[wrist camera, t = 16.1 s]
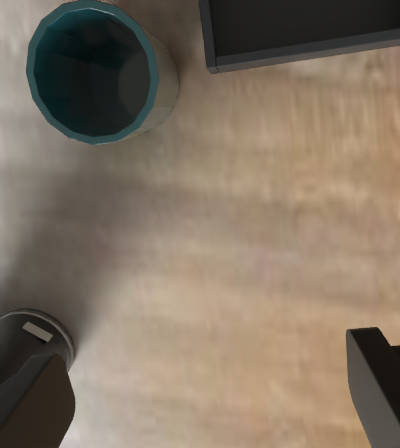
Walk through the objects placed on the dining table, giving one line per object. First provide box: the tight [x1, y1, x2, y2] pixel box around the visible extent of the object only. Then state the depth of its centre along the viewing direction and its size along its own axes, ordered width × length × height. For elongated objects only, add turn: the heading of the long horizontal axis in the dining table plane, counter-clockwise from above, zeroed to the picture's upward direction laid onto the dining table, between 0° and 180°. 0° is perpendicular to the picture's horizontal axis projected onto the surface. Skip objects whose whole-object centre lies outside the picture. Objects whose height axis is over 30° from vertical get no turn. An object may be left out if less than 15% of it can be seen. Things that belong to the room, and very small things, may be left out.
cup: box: [26, 0, 179, 145], centre depth 27 cm, size 8×8×10 cm
